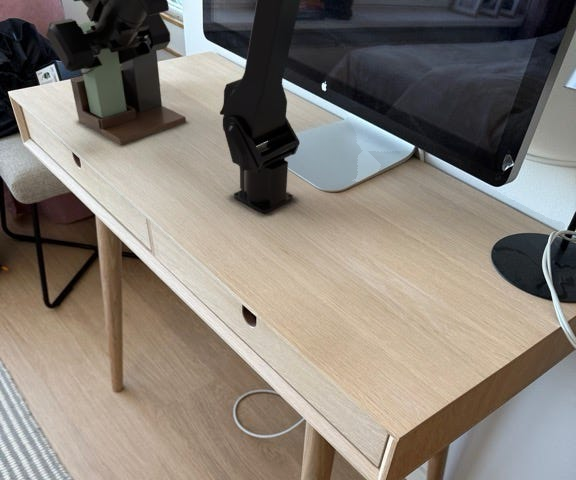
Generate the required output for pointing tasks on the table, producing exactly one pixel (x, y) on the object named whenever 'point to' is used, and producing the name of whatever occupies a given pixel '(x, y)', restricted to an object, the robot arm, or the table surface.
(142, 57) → the frame
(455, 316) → the table surface
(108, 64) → the green upright block
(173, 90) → the table surface
